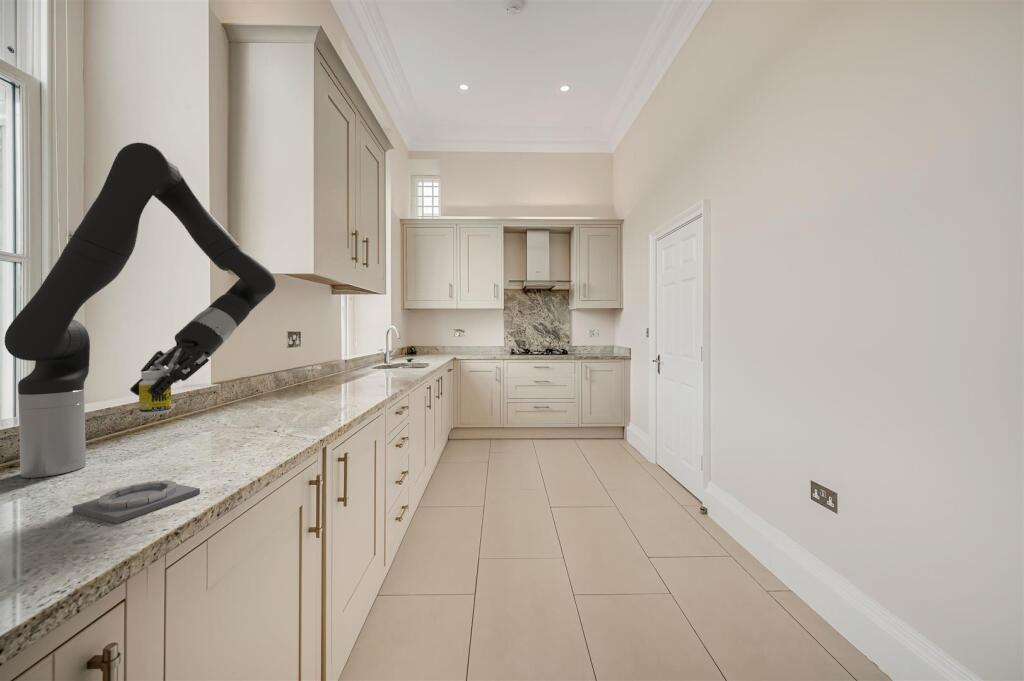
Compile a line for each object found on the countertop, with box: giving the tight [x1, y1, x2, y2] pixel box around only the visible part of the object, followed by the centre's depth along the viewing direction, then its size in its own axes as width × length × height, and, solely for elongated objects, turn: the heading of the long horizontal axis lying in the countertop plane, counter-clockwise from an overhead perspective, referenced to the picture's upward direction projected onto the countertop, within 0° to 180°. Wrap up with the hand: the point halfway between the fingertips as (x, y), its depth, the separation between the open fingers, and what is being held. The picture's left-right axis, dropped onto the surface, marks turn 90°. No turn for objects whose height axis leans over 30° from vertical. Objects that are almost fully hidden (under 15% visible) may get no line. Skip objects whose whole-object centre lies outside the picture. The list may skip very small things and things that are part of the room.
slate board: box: [72, 483, 201, 524], centre depth 69 cm, size 12×12×1 cm
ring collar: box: [98, 479, 177, 510], centre depth 69 cm, size 10×10×1 cm
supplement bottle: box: [138, 370, 172, 416], centre depth 79 cm, size 5×5×8 cm
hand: (144, 393), depth 77 cm, fingers closed on supplement bottle, 4 cm apart
